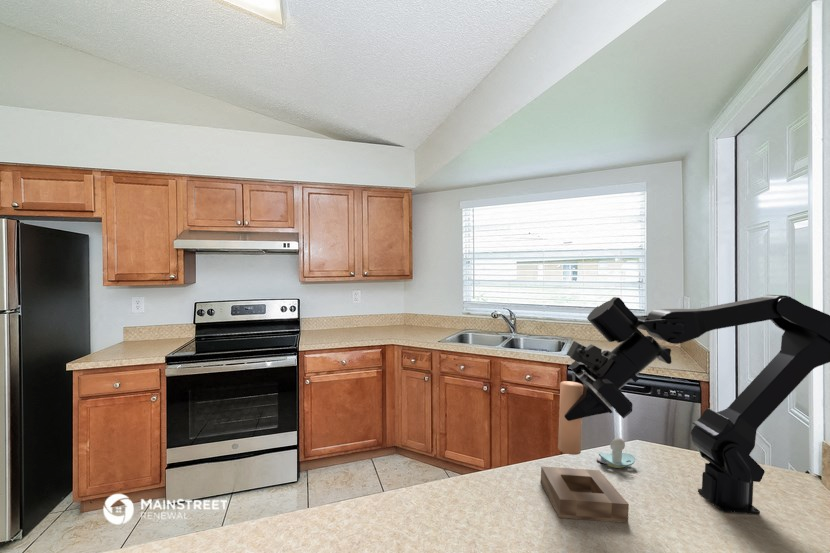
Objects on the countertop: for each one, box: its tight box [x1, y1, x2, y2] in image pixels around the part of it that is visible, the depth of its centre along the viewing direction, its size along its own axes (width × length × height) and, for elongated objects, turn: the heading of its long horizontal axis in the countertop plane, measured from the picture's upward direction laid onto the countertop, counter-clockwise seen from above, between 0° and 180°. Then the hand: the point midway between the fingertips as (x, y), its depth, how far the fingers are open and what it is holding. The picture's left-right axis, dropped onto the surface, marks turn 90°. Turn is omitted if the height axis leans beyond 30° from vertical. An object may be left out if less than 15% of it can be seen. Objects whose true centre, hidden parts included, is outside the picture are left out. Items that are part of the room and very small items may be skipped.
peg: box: [557, 380, 583, 456], centre depth 73 cm, size 4×4×12 cm
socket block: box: [540, 466, 630, 523], centre depth 68 cm, size 11×11×3 cm
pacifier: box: [596, 437, 636, 469], centre depth 83 cm, size 7×6×6 cm
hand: (563, 414), depth 73 cm, fingers closed on peg, 4 cm apart
